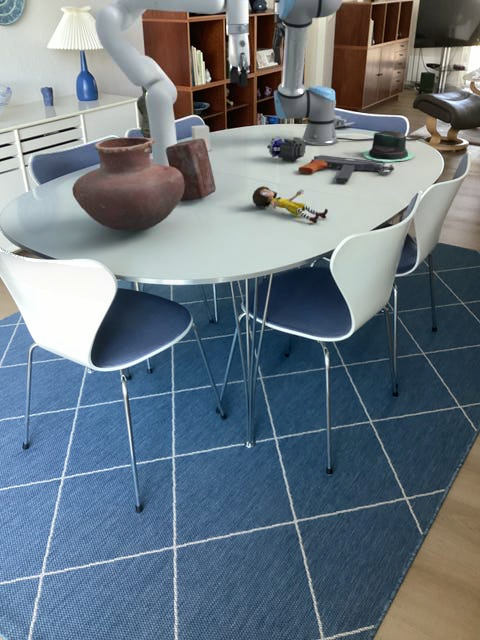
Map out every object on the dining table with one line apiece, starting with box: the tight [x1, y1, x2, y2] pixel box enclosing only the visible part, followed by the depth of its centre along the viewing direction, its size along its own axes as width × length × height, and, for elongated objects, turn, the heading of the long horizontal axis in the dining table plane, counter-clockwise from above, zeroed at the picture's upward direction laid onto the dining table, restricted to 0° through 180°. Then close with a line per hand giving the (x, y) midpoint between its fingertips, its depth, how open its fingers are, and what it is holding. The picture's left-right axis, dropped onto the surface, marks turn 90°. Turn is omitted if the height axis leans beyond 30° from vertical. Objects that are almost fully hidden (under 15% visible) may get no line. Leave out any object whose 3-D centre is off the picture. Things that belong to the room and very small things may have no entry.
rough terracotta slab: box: [166, 139, 217, 202], centre depth 188 cm, size 17×10×40 cm
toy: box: [266, 135, 306, 163], centre depth 223 cm, size 9×9×15 cm
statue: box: [136, 86, 152, 152], centre depth 237 cm, size 11×9×30 cm
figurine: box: [251, 185, 329, 224], centre depth 169 cm, size 13×8×25 cm
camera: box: [334, 100, 355, 128], centre depth 275 cm, size 9×12×15 cm
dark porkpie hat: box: [362, 130, 414, 163], centre depth 226 cm, size 15×19×20 cm
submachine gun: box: [298, 154, 395, 183], centre depth 205 cm, size 32×3×25 cm
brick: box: [190, 124, 211, 152], centre depth 241 cm, size 5×6×10 cm
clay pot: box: [72, 136, 185, 232], centre depth 155 cm, size 30×30×25 cm
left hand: (238, 84), depth 196 cm, fingers open, 9 cm apart
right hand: (282, 64), depth 265 cm, fingers open, 13 cm apart
